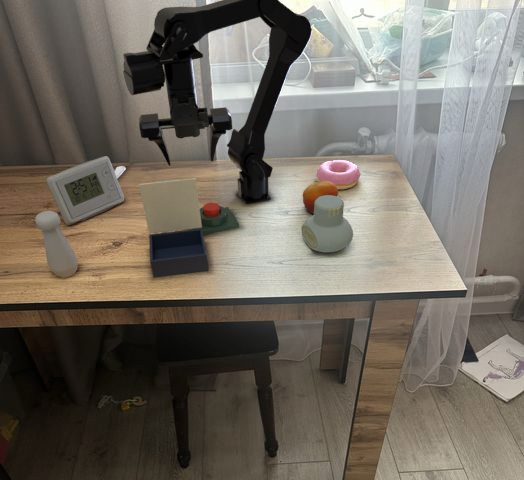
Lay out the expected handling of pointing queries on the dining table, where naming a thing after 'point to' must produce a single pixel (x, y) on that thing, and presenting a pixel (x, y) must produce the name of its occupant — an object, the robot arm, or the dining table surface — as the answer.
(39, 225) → the salt shaker
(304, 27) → the robot arm
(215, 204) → the alarm button
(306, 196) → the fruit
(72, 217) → the digital clock
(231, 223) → the alarm box
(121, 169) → the spoon
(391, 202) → the dining table surface
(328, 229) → the air freshener
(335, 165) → the doughnut
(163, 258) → the dark rimmed tray
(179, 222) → the beige panel
